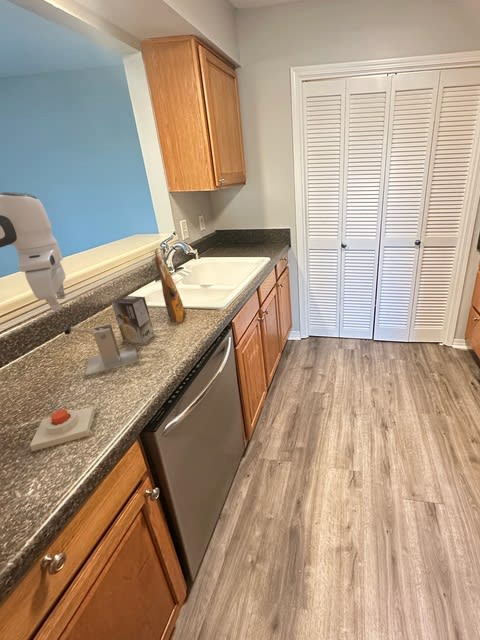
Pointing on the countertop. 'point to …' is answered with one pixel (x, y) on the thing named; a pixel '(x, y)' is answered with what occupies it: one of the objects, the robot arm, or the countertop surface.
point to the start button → (60, 417)
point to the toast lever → (79, 329)
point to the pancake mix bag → (169, 291)
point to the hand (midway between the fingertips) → (59, 303)
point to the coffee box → (133, 319)
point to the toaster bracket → (109, 352)
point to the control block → (63, 429)
